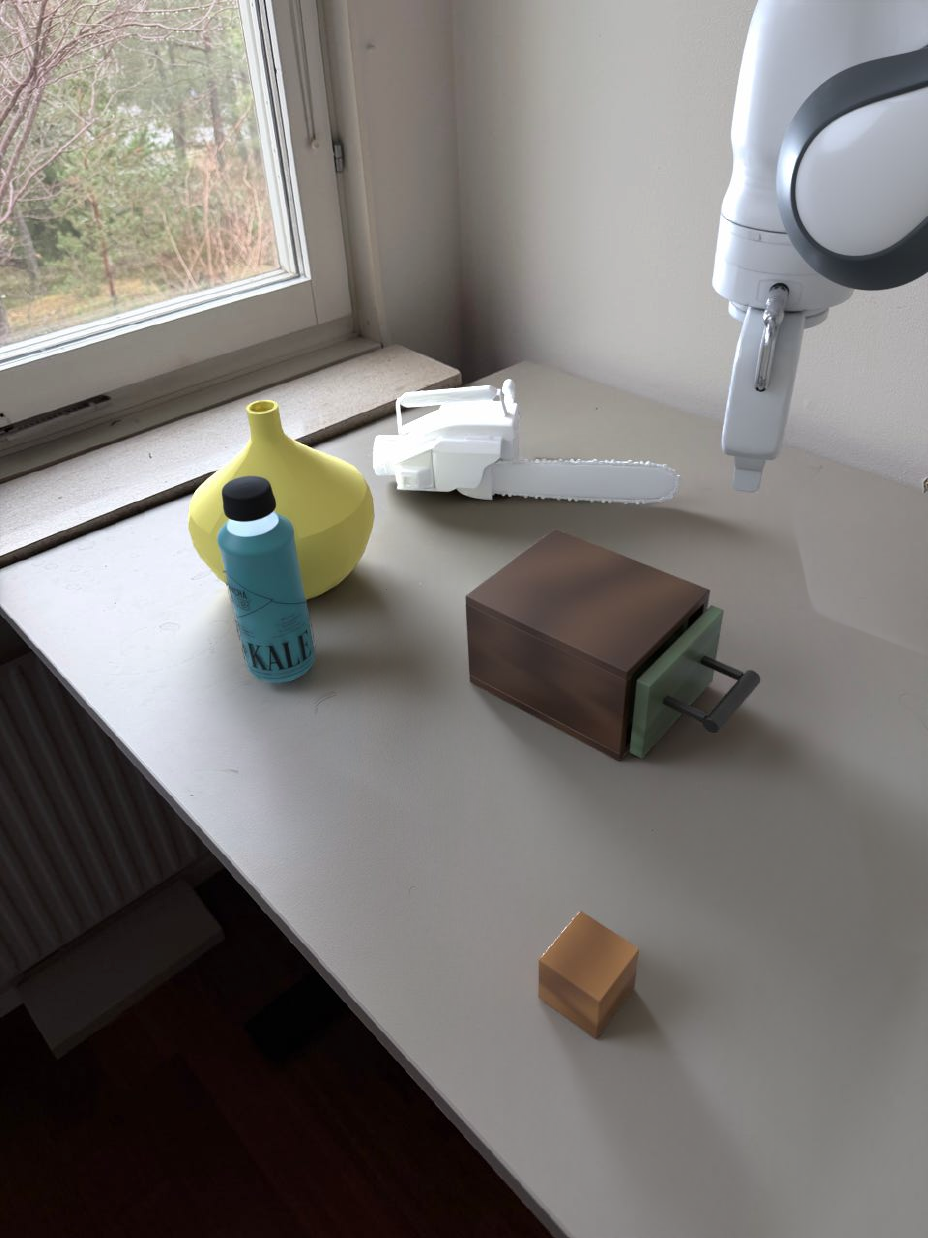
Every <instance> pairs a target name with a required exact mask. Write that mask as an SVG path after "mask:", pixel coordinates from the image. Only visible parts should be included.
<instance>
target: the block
mask: <svg viewBox="0 0 928 1238" xmlns="http://www.w3.org/2000/svg"><path fill="white" fill-rule="evenodd" d="M640 951H641V950H640V948H639V946H638V947H637V946H636V945H634V944H633V943H631V942H630V941H628V940H627V939H625V938H624V937H622V936H621V935H619V934H618V933H616V932H615V931H613V930H611V929H610V928H609V927H607V926H605V925H603V924H602V923H600V922H599V921H598V920H596V919H595V918H593V917H591V916H590V915H588V914H587V913H585V912H584V911H582V910H578V912H577V913H576V914H575V915H574V916H573V918H572V919H571V920H570V922H569V923H568V924H567V925H566V926H565V928H564V929H563V930H562V931H561V932H560V933H559V935H557V937H556V938H555V939H554V941H552V943H551V944H550V945H549V946H548V947H547V949H546V950H545V951H544V952H543V954H542V955H541V956H540V957H539V958H538V991H537V997H538V999H539V1000H541V1001H542V1002H544V1003H545V1004H546V1005H548V1006H549V1007H550V1008H552V1009H553V1010H555V1011H556V1012H557V1013H558V1014H560V1015H562V1017H564V1018H566V1019H567V1020H568V1021H569V1022H571V1023H573V1024H574V1025H575V1026H577V1027H578V1028H580V1029H581V1030H582V1031H584V1032H585V1034H588V1036H590V1037H592V1038H593V1039H595V1040H597V1039H598V1038H599V1037H600V1035H601V1034H602V1032H604V1030H605V1029H606V1027H607V1026H608V1025H609V1023H610V1022H611V1020H613V1018H614V1017H615V1015H616V1013H618V1011H619V1010H620V1008H621V1007H622V1006H623V1004H625V1001H626V1000H627V999H628V997H629V996H630V995H631V993H632V992H633V991H634V990H635V986H636V980H637V972H638V965H639V957H640Z"/></svg>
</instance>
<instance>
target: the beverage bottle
mask: <svg viewBox="0 0 928 1238" xmlns="http://www.w3.org/2000/svg"><path fill="white" fill-rule="evenodd" d="M222 499H223V509H224V513H225V515H226V516H227V517H228V518H229V520H228V521H227V522H226V523H225V524H224V525H223V527H222V528H221V529H220V531H219V533H218V536H217V542H218V546H219V548H220V551H221V555H222V560H223V564H224V569H225V571H223V572H225V574H226V578H227V582H228V584H227V583H225V586H226V587H227V591H228V592H229V596H230V597H229V600H230V602H231V604H232V606H233V607H231V608H232V610H233V612H234V615H235V626H236V631H237V633H239V634H237V636H238V639H239V641H240V642H241V646H240V649H241V652H242V657H243V660H245V667H246V668H247V670H248V671H249V672H250V673H251V675H252V676H253V677H255V678H256V679H258V680H260V681H261V682H265V683H271V684H274V683H275V684H281V683H286V682H287V683H288V682H291V681H294V680H296V679H298V678H300V677H303V675H304V674H306V673H307V672H309V671H310V669H311V668H312V666H313V664H314V662H315V659H316V652H317V649H316V647H317V645H316V644H315V643H316V640H315V639H314V638H315V636H314V635H315V634H314V633H315V632H314V630H312V627H313V624H312V623H311V622H312V616H311V611H310V608H308V602H309V599H307V600H306V598H305V595H304V590H303V584H302V578H301V572H300V567H299V561H298V555H297V550H296V544H295V538H294V528H293V525H292V524H291V522H290V521H289V520H288V519H287V518H285V517H284V516H282V515H280V514H278V513H276V512H273V511H274V510H275V508H276V500H275V497H274V495H273V491H272V488H271V485H270V483H269V481H268V480H267V479H265V478H263V477H259V476H244V477H239V478H236V479H233V480H231V481H229V482H228V483H227V484H225V485H224V487H223V489H222ZM225 582H226V580H225Z"/></svg>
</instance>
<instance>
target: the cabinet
mask: <svg viewBox="0 0 928 1238" xmlns="http://www.w3.org/2000/svg"><path fill="white" fill-rule="evenodd" d="M710 594H711V589H709V588H706V587H704V586H701V585H699V584H696V583H693V582H691V581H689V580H686V579H684V578H681V577H679V576H676V575H673V574H672V573H669V572H666V571H663V570H661V569H659V568H656V567H653V566H652V565H648V564H646V563H643V562H641V561H639V560H636V559H633V558H631V557H629V556H626V555H623V554H621V553H619V552H616V551H614V550H610V549H608V548H605V547H603V546H601V545H598V544H596V543H593V542H590V541H588V540H585V539H582V538H581V537H577V536H576V535H573V534H571V533H568V532H565V531H564V530H560V529H558V528H556V527H555V528H552V530H550V531H549V532H547V533H546V534H545V535H543V536H542V537H541V538H540V539H538V540H537V541H535V542H534V543H533V544H531V545H530V546H529V547H528V548H526V549H524V550H523V551H522V552H521V553H519V554H518V555H516V557H514V558H513V559H512V560H510V561H509V562H508V563H506V564H505V565H504V566H502V567H500V568H499V570H497V571H496V572H494V573H493V574H491V576H489V577H488V578H487V579H485V580H484V581H483V582H481V583H480V584H478V585H477V586H476V587H474V588H473V589H472V590H470V591H469V592H468V593H467V594H466V595H465V598H464V599H465V619H466V639H467V660H468V675H469V676H468V677H469V678H468V679H469V683H471V684H472V685H474V686H476V687H478V688H480V689H482V690H483V691H485V692H488V693H489V694H491V695H493V696H495V697H497V698H499V699H501V700H502V701H504V702H506V703H508V704H510V705H512V706H513V707H515V708H517V709H520V710H522V711H523V712H525V713H526V714H528V715H531V716H532V717H534V718H536V719H537V720H540V721H542V722H543V723H546V724H547V725H550V726H551V727H553V728H555V729H557V730H559V731H560V732H563V733H564V734H566V735H568V736H570V737H572V738H574V739H575V740H577V741H580V742H581V743H583V744H585V745H587V746H589V747H591V748H592V749H594V750H596V751H598V752H600V753H602V754H604V755H605V756H607V757H609V758H611V759H613V760H615V761H617V762H620V761H621V760H623V758H624V757H625V756H626V755H627V753H628V752H630V743H631V733H632V724H631V725H630V726H629V727H628V717H629V706H630V696H631V685H632V674H633V673H634V672H635V671H636V670H637V669H638V668H639V667H640V666H641V665H642V664H643V663H644V662H645V661H646V660H647V659H648V658H649V657H650V656H651V655H652V654H653V653H654V652H655V651H656V650H657V649H658V648H659V647H660V646H661V645H662V644H663V643H664V642H665V641H666V640H667V639H668V638H669V637H670V636H671V635H672V634H673V633H674V632H675V631H676V630H677V629H678V628H679V627H680V626H681V625H682V624H683V623H684V622H685V621H686V620H687V619H688V618H689V621H688V628H689V627H690V626H691V625H692V624H693V623H694V622H695V621H696V620H697V619H698V618H699V617H700V616H701V615H702V614H703V613H704V612H705V611H706V610H707V609H708V608H709V601H710V599H709V598H710ZM688 628H687V629H688ZM632 723H633V722H632ZM627 727H628V728H627Z"/></svg>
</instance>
